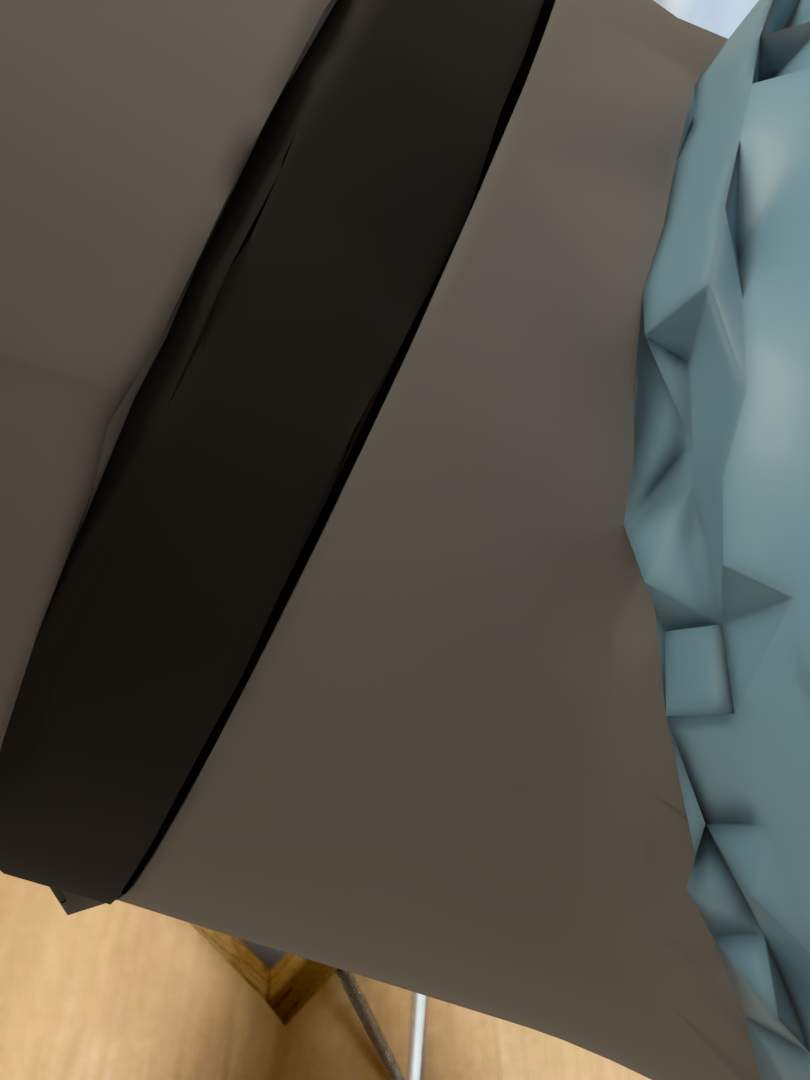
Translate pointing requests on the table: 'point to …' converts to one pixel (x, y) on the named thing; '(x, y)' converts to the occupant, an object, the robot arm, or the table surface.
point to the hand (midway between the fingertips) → (264, 713)
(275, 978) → the table surface
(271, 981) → the table surface
